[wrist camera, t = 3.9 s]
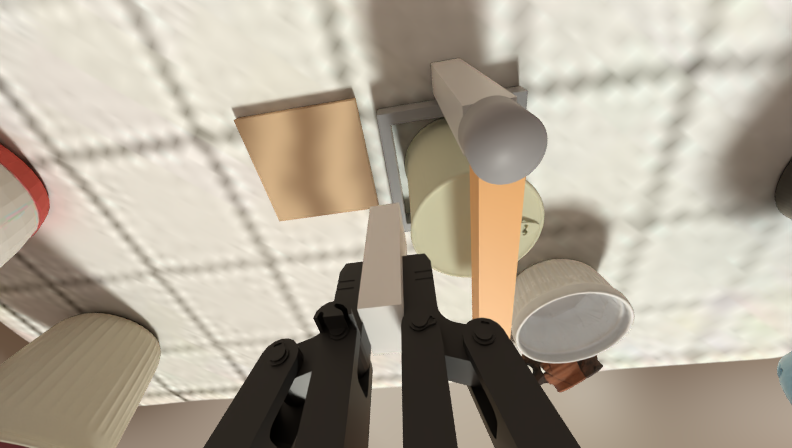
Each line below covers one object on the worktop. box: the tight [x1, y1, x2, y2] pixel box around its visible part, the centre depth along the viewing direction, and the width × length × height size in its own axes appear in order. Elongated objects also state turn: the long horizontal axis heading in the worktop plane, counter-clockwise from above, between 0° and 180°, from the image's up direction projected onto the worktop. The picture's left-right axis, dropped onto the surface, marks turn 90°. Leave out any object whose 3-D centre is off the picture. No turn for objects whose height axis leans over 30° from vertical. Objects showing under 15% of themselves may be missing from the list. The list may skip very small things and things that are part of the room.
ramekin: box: [512, 259, 634, 363], centre depth 38 cm, size 13×13×7 cm
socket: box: [377, 58, 528, 232], centre depth 24 cm, size 12×16×14 cm
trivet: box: [234, 98, 379, 221], centre depth 30 cm, size 11×11×1 cm
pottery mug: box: [521, 354, 603, 392], centre depth 46 cm, size 12×10×8 cm
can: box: [405, 118, 544, 277], centre depth 25 cm, size 9×9×12 cm
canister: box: [0, 313, 161, 448], centre depth 37 cm, size 18×18×21 cm
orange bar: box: [458, 95, 547, 338], centre depth 17 cm, size 3×16×2 cm, turn 9°
